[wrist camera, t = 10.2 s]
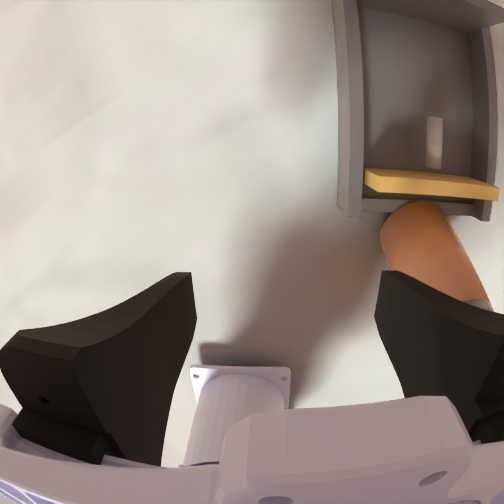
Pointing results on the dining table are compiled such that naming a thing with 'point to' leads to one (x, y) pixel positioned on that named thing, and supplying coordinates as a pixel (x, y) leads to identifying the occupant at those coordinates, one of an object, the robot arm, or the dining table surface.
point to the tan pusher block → (429, 174)
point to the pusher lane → (414, 96)
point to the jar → (431, 252)
